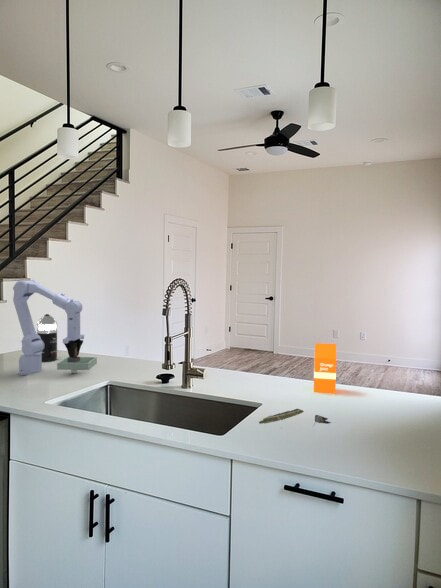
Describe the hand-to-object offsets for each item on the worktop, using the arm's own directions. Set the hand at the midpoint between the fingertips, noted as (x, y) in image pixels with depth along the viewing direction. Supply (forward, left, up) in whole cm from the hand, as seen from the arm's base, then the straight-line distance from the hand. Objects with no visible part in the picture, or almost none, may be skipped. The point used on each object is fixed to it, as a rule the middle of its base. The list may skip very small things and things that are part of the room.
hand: (73, 356), depth 198 cm
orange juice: (+112, -21, -9) cm, 114 cm away
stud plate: (0, 0, -9) cm, 9 cm away
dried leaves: (+92, -60, -10) cm, 110 cm away
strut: (0, 0, -2) cm, 2 cm away
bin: (-3, +15, -9) cm, 18 cm away
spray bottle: (-25, +33, -9) cm, 42 cm away
